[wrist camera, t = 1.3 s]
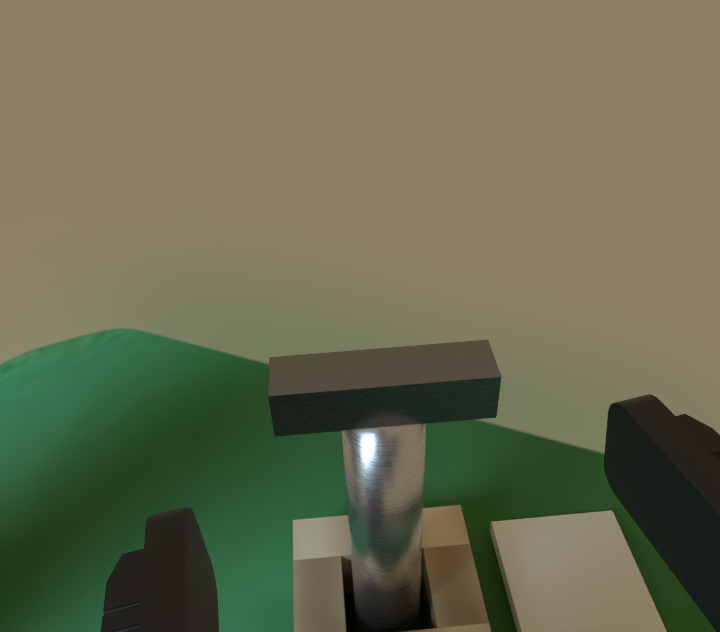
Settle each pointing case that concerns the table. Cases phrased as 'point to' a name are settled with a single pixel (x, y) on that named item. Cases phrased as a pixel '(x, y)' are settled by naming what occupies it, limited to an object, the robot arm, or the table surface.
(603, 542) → the beige flat plate
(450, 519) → the slot block
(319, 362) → the t key
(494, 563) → the table surface
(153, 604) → the robot arm
